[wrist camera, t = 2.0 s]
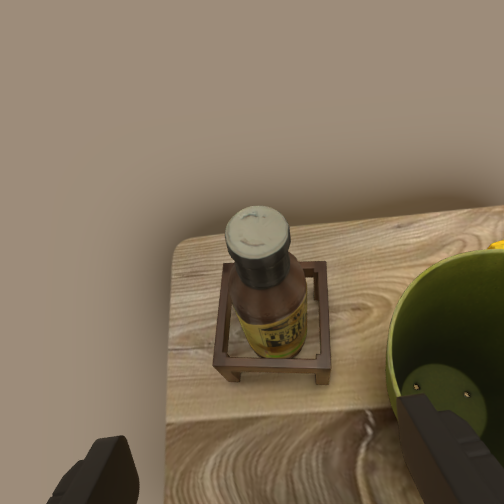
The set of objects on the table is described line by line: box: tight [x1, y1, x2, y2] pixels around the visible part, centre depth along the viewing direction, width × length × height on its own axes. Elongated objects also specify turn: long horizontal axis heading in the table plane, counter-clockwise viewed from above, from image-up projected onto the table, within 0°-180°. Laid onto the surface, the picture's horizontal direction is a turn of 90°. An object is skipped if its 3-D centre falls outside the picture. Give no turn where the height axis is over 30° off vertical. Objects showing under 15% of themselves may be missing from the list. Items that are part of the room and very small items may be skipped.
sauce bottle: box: [225, 206, 307, 358], centre depth 31 cm, size 6×6×20 cm
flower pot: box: [385, 249, 504, 468], centre depth 27 cm, size 15×15×16 cm
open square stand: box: [213, 261, 331, 385], centre depth 37 cm, size 10×10×7 cm
